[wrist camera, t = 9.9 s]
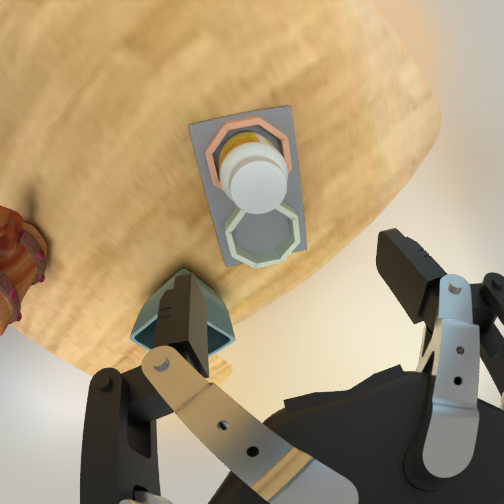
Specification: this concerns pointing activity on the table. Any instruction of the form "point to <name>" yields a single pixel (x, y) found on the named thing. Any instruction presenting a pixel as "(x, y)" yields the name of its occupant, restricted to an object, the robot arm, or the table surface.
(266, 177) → the supplement bottle
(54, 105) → the table surface
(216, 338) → the flower pot
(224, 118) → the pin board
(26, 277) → the mug
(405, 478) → the robot arm
